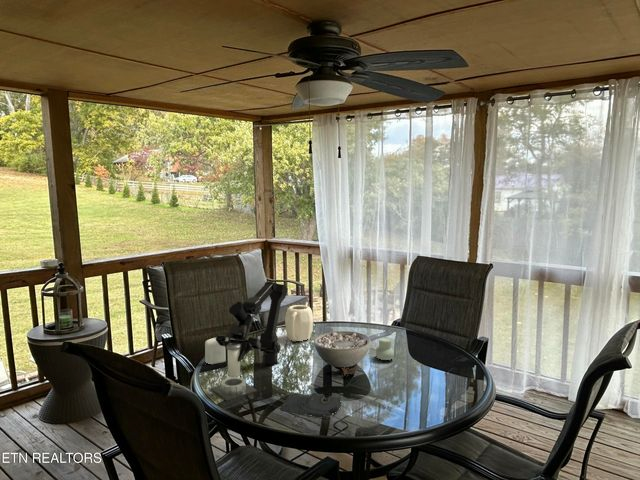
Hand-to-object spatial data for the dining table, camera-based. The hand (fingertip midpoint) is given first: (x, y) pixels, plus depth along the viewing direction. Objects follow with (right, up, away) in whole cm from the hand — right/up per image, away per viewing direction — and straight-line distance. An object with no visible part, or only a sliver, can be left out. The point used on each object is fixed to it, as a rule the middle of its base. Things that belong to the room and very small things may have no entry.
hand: (232, 360), depth 182 cm
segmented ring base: (0, -13, +3) cm, 13 cm away
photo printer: (-15, -11, +34) cm, 39 cm away
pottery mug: (+47, -12, +22) cm, 54 cm away
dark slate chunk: (+33, -15, -11) cm, 38 cm away
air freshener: (+69, -10, +41) cm, 80 cm away
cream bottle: (0, -6, +2) cm, 7 cm away
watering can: (+25, -7, +73) cm, 77 cm away
